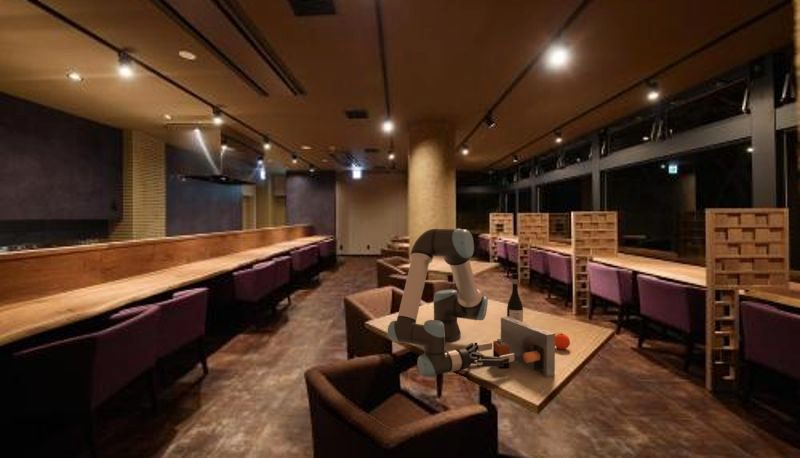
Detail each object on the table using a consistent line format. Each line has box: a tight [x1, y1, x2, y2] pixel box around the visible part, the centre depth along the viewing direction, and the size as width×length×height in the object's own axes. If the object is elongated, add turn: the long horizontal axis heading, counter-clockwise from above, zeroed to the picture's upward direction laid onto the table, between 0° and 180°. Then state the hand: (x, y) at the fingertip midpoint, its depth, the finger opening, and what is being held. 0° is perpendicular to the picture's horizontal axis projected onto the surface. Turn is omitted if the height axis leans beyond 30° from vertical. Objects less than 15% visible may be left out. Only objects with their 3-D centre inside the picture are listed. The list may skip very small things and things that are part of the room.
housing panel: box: [500, 316, 556, 379], centre depth 148 cm, size 26×4×16 cm, turn 24°
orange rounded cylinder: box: [523, 351, 540, 363], centre depth 137 cm, size 4×5×4 cm
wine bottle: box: [506, 272, 524, 322], centre depth 192 cm, size 8×8×30 cm
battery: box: [492, 338, 510, 370], centre depth 146 cm, size 4×7×10 cm, turn 6°
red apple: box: [555, 332, 571, 350], centre depth 165 cm, size 8×7×7 cm
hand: (502, 351), depth 146 cm, fingers open, 13 cm apart
